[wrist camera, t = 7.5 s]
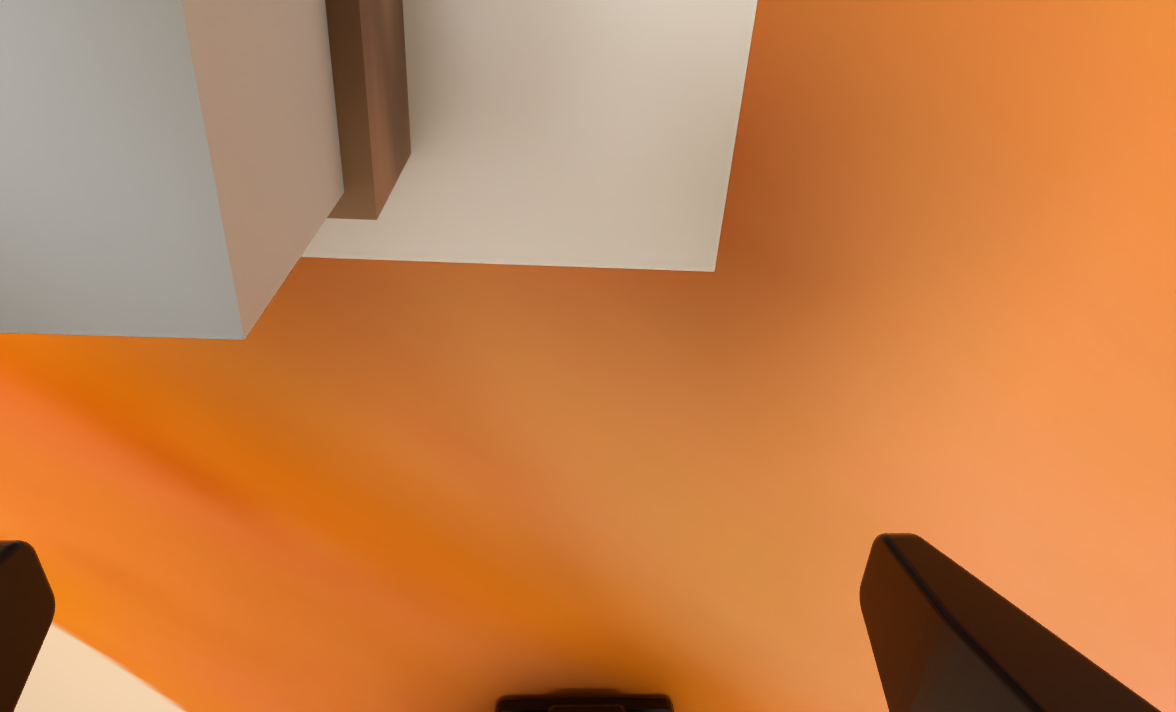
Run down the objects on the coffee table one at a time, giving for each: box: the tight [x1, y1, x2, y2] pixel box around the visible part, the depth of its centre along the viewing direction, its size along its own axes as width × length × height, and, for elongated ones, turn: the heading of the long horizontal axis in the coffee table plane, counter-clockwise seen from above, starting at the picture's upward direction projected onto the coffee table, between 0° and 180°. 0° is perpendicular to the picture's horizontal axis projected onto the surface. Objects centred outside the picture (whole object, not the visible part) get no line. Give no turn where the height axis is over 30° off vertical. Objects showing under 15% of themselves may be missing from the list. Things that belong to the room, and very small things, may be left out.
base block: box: [325, 0, 411, 220], centre depth 13 cm, size 6×6×4 cm
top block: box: [0, 0, 344, 340], centre depth 9 cm, size 5×5×5 cm
